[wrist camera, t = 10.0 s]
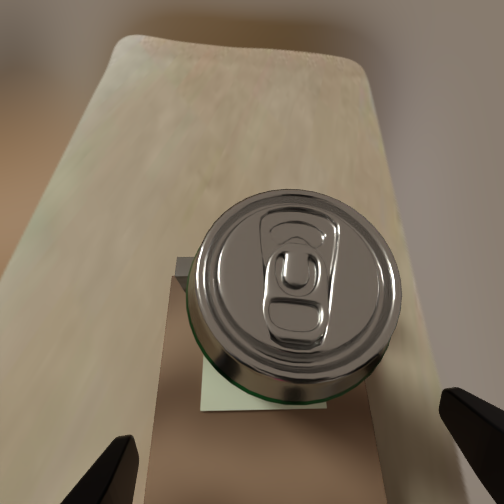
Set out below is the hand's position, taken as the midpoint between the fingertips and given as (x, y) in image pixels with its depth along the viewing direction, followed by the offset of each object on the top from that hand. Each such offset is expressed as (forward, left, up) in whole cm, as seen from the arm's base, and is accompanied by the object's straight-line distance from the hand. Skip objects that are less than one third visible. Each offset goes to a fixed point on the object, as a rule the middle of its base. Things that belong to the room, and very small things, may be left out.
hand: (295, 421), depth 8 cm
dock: (0, 0, -10) cm, 10 cm away
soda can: (+2, -2, -8) cm, 9 cm away
